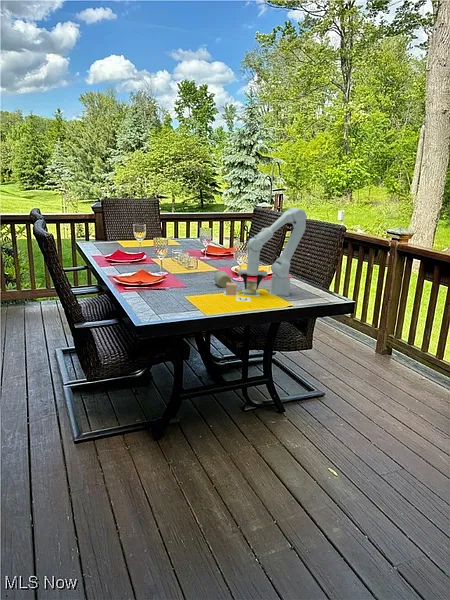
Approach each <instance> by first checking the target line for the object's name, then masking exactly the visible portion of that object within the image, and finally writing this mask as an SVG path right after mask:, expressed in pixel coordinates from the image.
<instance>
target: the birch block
mask: <svg viewBox="0 0 450 600" xmlns="http://www.w3.org/2000/svg"><path fill="white" fill-rule="evenodd" d="M256 289H257V280H256V281H254V280H247V287H246V289H245V290H246V293H251V294H256V291H257V290H258V289H257V290H256Z"/></svg>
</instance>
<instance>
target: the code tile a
mask: <svg viewBox="0 0 450 600" xmlns="http://www.w3.org/2000/svg"><path fill="white" fill-rule="evenodd" d="M235 301H236V302H246V303H247V302H248V303H251V297H250V296H245V297H244V296H235Z"/></svg>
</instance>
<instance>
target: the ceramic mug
mask: <svg viewBox="0 0 450 600" xmlns="http://www.w3.org/2000/svg"><path fill="white" fill-rule="evenodd" d="M213 281H214V283H216V285H218V287H220V288H224V289H226V286H227V282H229V283H234V282H233V281H232V279H231V277H230V275H228V273H227V272H226V271H224V270H219V271H217V272H215V274H214V275H213Z"/></svg>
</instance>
